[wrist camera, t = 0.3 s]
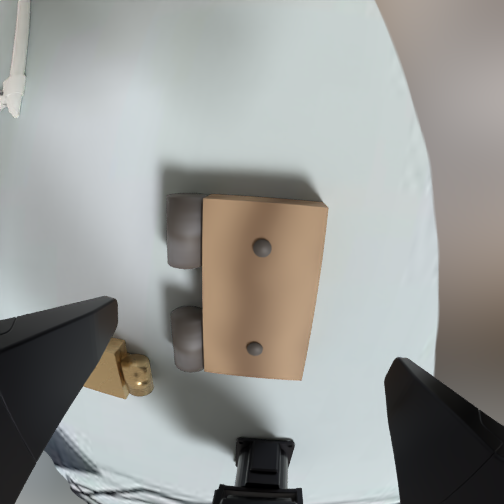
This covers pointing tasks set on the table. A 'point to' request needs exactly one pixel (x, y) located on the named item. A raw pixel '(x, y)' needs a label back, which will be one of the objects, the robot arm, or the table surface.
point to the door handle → (17, 62)
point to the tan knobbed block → (121, 372)
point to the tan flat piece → (246, 282)
